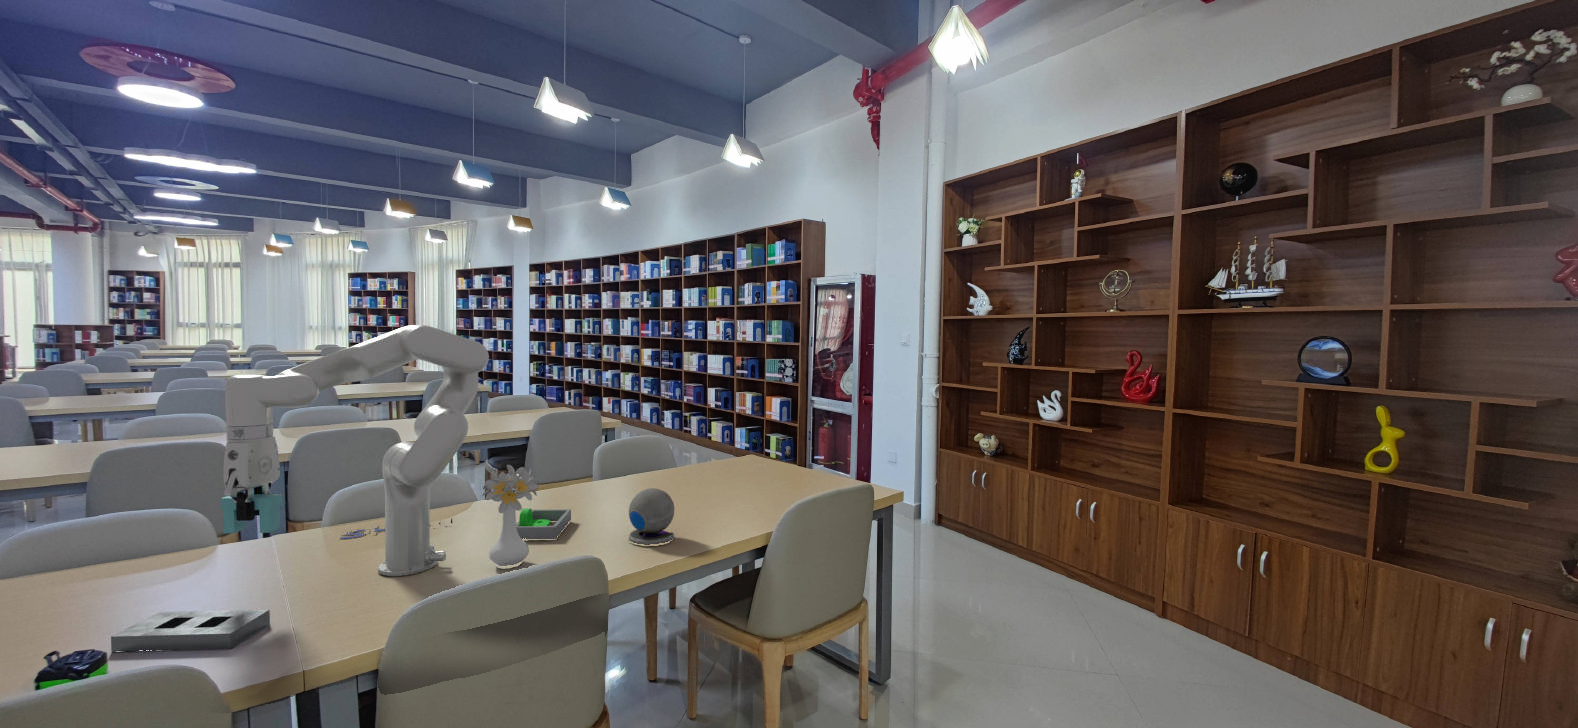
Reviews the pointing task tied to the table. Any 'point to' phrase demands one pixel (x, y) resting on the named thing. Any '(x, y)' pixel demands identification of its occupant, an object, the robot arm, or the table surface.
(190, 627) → the gray slotted base plate
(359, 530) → the signage
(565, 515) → the parts tray
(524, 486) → the flower vase
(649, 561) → the table surface
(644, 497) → the webcam
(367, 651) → the table surface
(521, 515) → the mechanical part
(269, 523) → the clip
